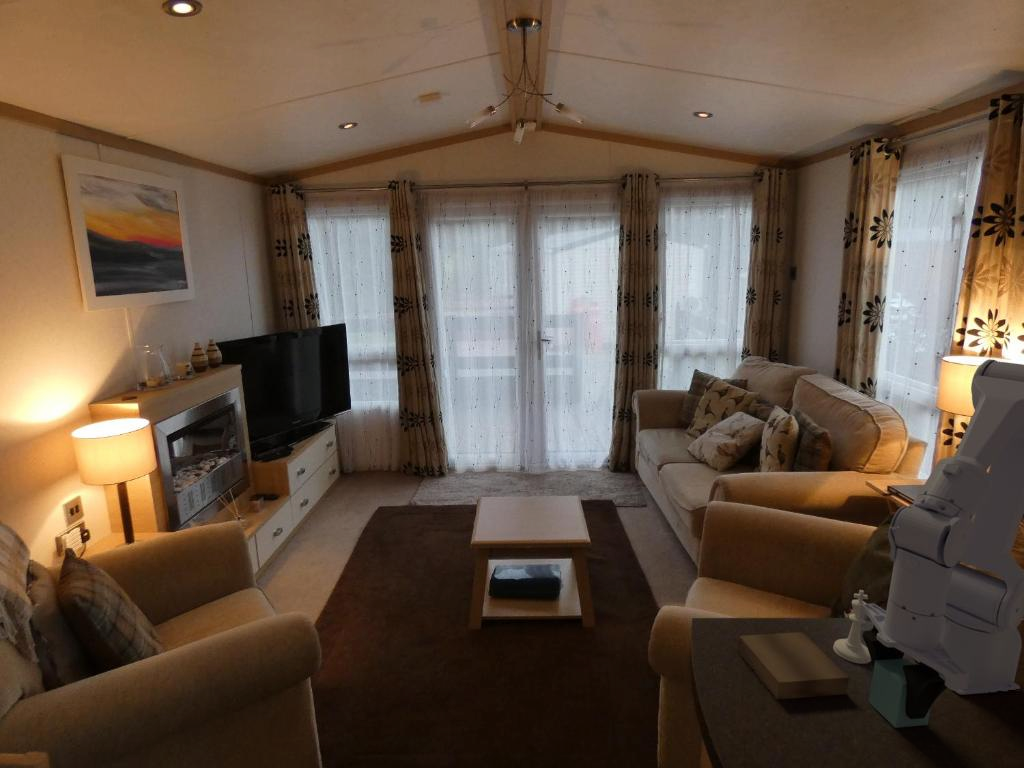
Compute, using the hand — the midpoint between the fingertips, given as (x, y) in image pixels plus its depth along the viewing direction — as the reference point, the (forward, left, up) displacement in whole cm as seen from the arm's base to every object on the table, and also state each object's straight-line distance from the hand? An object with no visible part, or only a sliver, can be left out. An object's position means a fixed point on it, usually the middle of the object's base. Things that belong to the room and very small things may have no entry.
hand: (899, 701), depth 75 cm
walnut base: (+9, -9, -2) cm, 13 cm away
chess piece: (-3, -12, -2) cm, 13 cm away
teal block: (0, 0, -2) cm, 2 cm away
